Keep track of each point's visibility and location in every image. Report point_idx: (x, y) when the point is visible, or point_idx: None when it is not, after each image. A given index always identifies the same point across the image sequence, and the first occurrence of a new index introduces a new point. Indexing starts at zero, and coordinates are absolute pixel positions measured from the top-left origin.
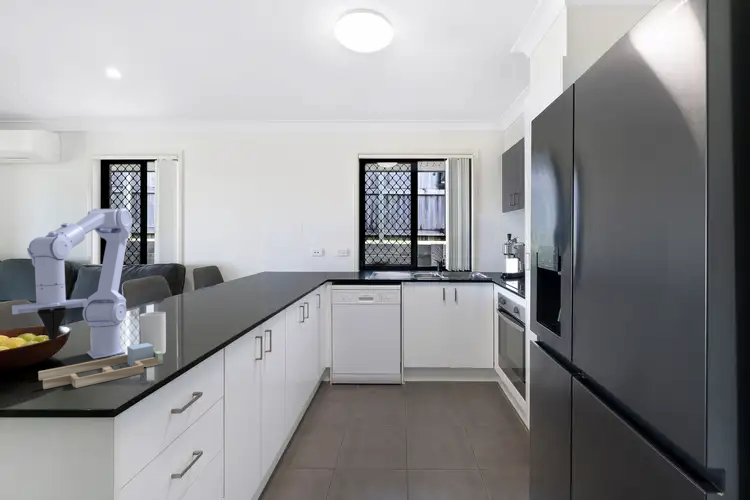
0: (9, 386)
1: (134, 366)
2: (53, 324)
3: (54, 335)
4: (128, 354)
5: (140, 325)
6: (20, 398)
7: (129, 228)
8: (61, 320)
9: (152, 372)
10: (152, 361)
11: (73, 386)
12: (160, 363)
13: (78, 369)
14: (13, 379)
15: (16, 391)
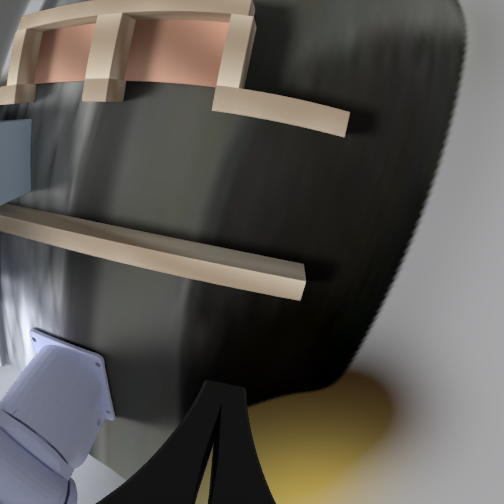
0: (385, 283)
1: (41, 17)
2: (197, 486)
3: (213, 401)
4: (3, 189)
5: None
6: (424, 84)
7: None
8: (127, 483)
9: (29, 10)
10: None
11: (255, 32)
12: None
13: (165, 242)
14: (339, 353)
15: (403, 192)
